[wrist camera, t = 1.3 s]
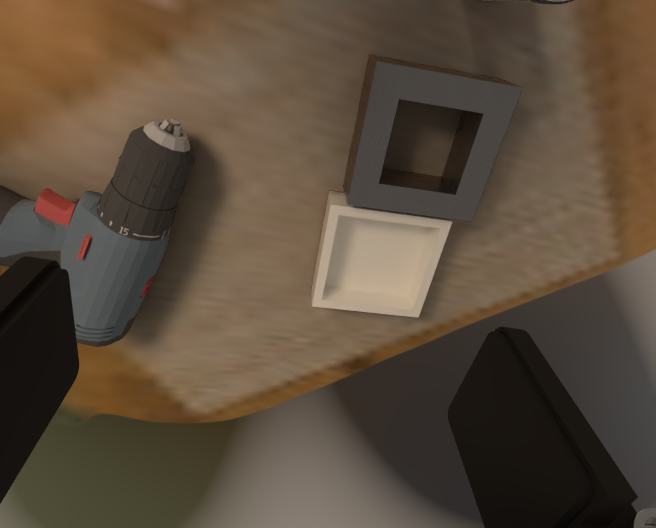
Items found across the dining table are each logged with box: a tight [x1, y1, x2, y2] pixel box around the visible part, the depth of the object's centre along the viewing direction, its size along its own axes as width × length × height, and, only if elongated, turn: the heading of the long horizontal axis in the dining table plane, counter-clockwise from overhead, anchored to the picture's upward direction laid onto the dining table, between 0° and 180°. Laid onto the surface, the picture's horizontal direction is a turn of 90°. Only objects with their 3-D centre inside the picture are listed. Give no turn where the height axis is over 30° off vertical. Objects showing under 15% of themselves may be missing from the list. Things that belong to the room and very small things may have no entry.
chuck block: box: [343, 55, 522, 222], centre depth 29 cm, size 9×9×3 cm
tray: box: [311, 191, 453, 318], centre depth 34 cm, size 9×9×3 cm
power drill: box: [0, 119, 195, 347], centre depth 29 cm, size 5×19×20 cm
